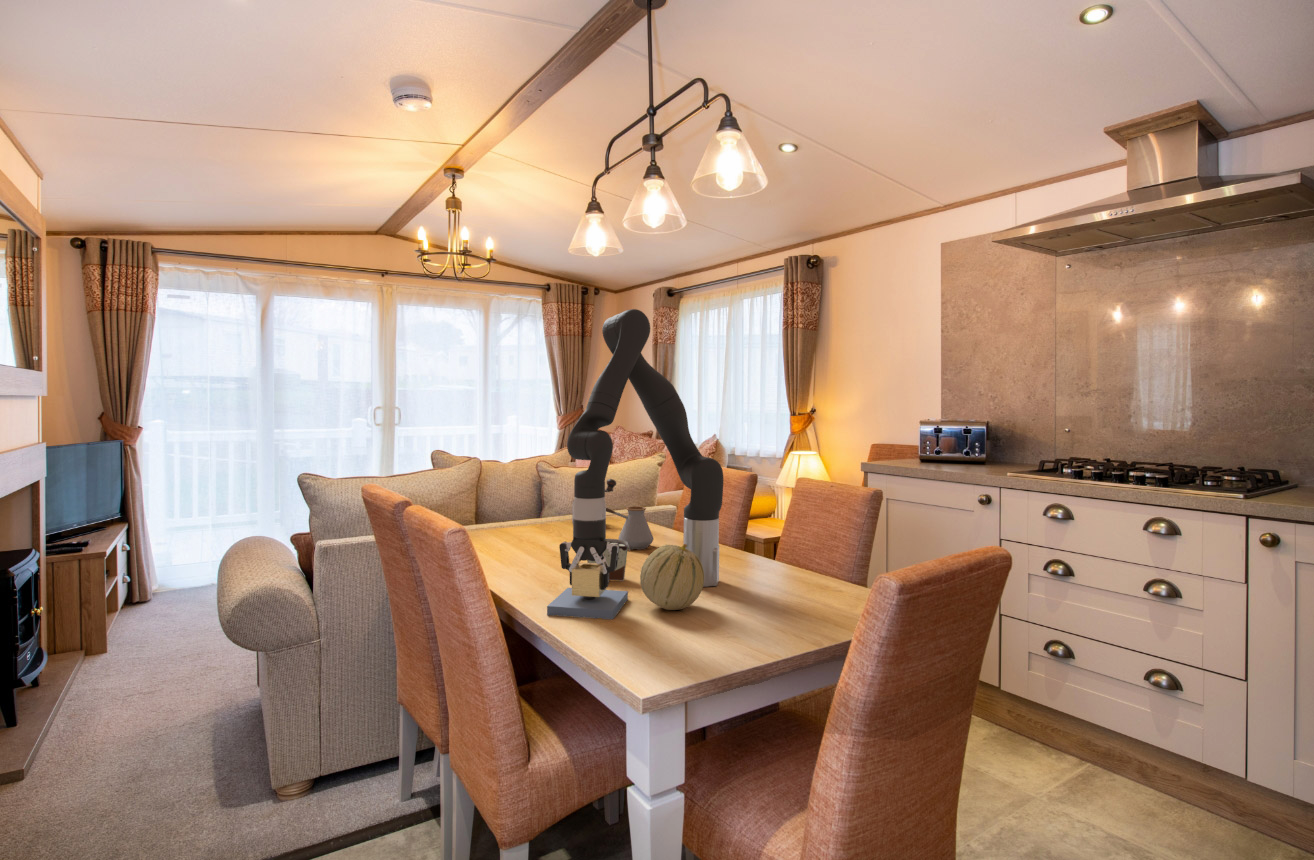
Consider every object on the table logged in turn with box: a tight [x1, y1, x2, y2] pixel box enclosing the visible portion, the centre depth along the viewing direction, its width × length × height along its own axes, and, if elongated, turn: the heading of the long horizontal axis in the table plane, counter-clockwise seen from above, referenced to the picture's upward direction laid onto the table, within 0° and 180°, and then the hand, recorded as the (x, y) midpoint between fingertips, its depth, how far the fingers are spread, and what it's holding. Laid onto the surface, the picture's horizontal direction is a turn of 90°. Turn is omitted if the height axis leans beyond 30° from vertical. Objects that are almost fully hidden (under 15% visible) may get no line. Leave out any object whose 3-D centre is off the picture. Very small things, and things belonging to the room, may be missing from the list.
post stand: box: [546, 587, 629, 620], centre depth 154 cm, size 15×15×8 cm
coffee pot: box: [606, 505, 654, 550], centre depth 216 cm, size 21×12×15 cm, turn 102°
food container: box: [586, 538, 631, 582], centre depth 180 cm, size 12×6×10 cm, turn 84°
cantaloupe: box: [639, 543, 704, 611], centre depth 154 cm, size 15×15×15 cm
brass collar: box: [571, 562, 607, 597], centre depth 154 cm, size 6×6×6 cm
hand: (589, 587), depth 154 cm, fingers closed on brass collar, 6 cm apart
